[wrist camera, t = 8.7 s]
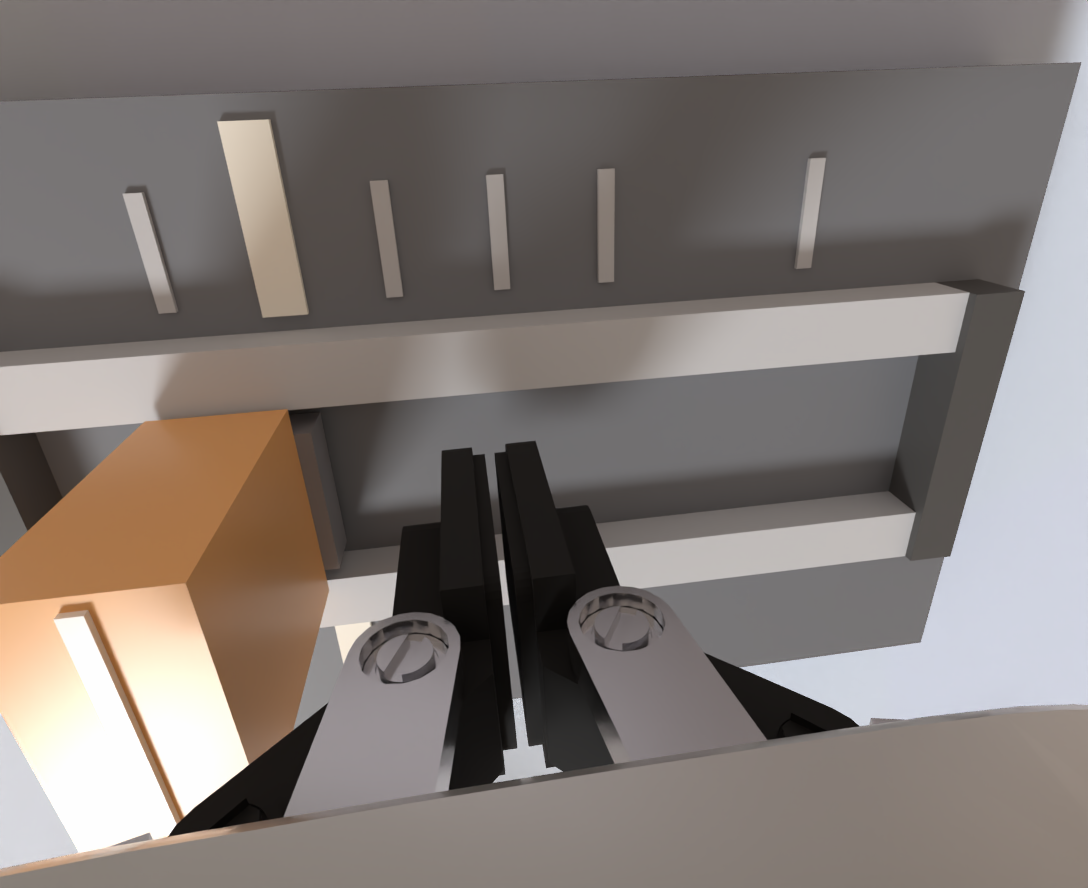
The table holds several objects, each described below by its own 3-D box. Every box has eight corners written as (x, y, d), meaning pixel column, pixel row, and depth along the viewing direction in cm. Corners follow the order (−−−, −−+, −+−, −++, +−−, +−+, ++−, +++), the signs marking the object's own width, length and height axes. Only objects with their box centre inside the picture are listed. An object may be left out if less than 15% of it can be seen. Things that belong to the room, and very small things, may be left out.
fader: (315, 387, 12) (211, 586, 7) (350, 559, 14) (291, 826, 9) (150, 402, 12) (-97, 620, 7) (207, 575, 14) (49, 863, 8)
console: (997, 72, 14) (1144, 54, 11) (877, 596, 20) (950, 674, 17) (-142, 115, 11) (-340, 106, 8) (118, 695, 17) (53, 804, 15)
